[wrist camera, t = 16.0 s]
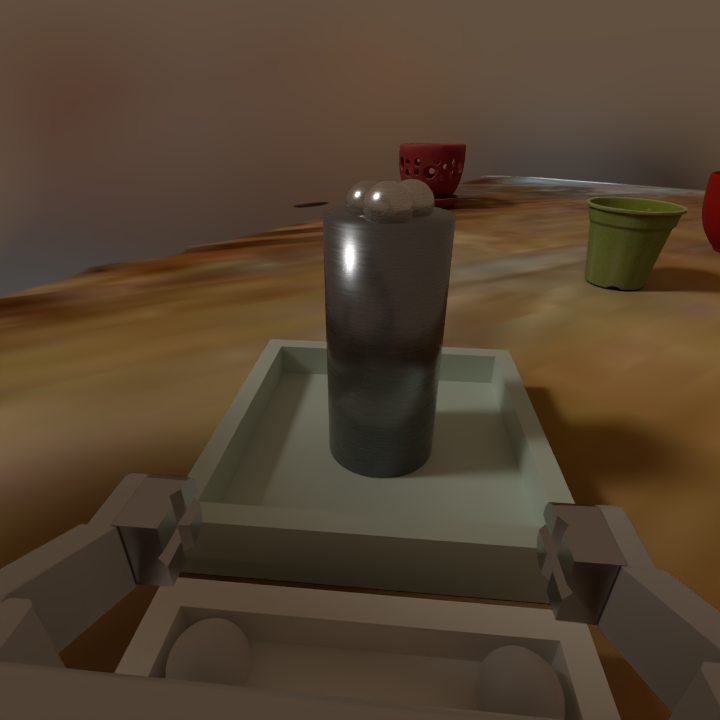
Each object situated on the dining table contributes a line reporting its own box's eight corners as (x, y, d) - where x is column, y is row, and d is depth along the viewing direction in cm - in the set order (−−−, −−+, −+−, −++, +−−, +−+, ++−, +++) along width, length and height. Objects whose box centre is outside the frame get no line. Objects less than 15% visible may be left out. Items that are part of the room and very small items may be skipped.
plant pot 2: (610, 267, 58) (630, 194, 54) (681, 290, 50) (710, 208, 46) (551, 275, 55) (567, 198, 51) (616, 301, 47) (642, 214, 43)
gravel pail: (321, 474, 23) (310, 185, 16) (336, 411, 28) (332, 169, 21) (434, 482, 22) (466, 188, 16) (429, 416, 27) (453, 171, 21)
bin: (175, 571, 19) (161, 519, 18) (274, 377, 33) (270, 339, 32) (577, 606, 18) (596, 552, 16) (501, 388, 32) (508, 350, 30)
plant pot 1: (472, 206, 96) (480, 143, 91) (428, 213, 89) (433, 145, 83) (427, 198, 105) (432, 140, 100) (384, 204, 98) (386, 141, 92)
